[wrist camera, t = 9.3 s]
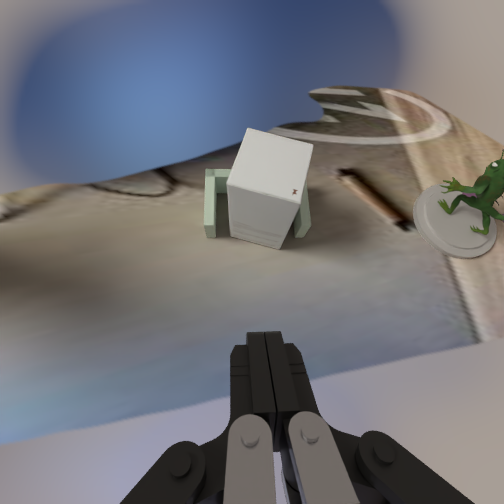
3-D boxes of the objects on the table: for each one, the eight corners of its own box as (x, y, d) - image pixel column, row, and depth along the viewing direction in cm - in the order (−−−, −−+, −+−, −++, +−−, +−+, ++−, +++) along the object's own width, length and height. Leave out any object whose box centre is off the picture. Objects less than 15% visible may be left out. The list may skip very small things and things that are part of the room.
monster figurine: (472, 183, 42) (543, 135, 32) (504, 254, 38) (597, 223, 28) (402, 189, 41) (454, 141, 31) (429, 263, 37) (498, 234, 27)
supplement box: (291, 205, 38) (317, 143, 26) (279, 251, 36) (302, 205, 24) (243, 192, 39) (247, 124, 27) (227, 236, 36) (225, 183, 24)
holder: (303, 237, 37) (311, 225, 33) (206, 237, 36) (203, 225, 32) (298, 187, 39) (305, 170, 36) (208, 186, 39) (205, 168, 35)
